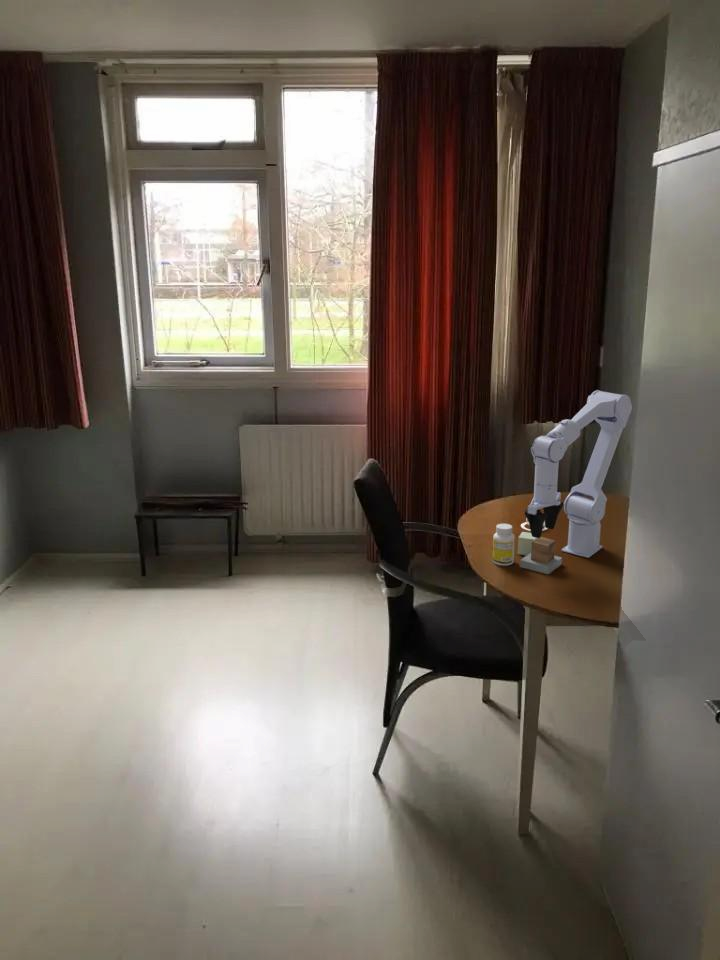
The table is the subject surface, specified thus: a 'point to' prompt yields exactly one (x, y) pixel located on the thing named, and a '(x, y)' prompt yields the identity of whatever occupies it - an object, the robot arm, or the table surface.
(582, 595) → the table surface
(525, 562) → the slate slab
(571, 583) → the table surface
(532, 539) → the sage block
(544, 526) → the teacup and saucer
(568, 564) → the table surface
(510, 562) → the supplement bottle
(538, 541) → the walnut block
